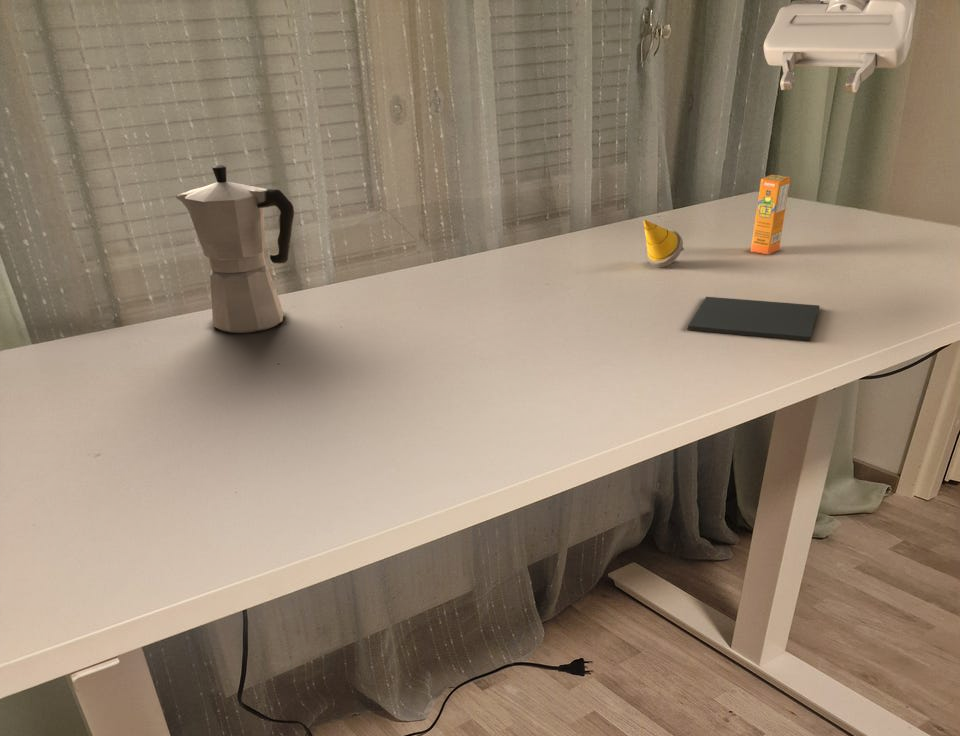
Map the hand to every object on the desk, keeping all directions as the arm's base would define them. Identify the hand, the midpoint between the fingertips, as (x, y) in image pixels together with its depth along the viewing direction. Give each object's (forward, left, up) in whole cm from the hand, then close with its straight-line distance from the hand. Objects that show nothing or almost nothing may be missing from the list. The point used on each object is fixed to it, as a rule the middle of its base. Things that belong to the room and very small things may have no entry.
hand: (817, 88), depth 125 cm
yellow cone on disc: (+16, +24, -20) cm, 35 cm away
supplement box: (+3, +12, -20) cm, 23 cm away
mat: (0, +44, -20) cm, 48 cm away
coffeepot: (+60, +62, -20) cm, 88 cm away
